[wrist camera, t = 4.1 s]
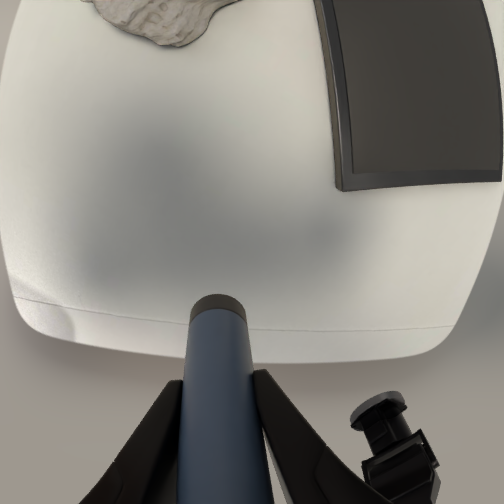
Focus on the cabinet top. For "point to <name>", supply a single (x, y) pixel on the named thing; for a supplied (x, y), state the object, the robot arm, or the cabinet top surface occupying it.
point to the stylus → (220, 411)
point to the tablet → (412, 92)
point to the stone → (160, 17)
